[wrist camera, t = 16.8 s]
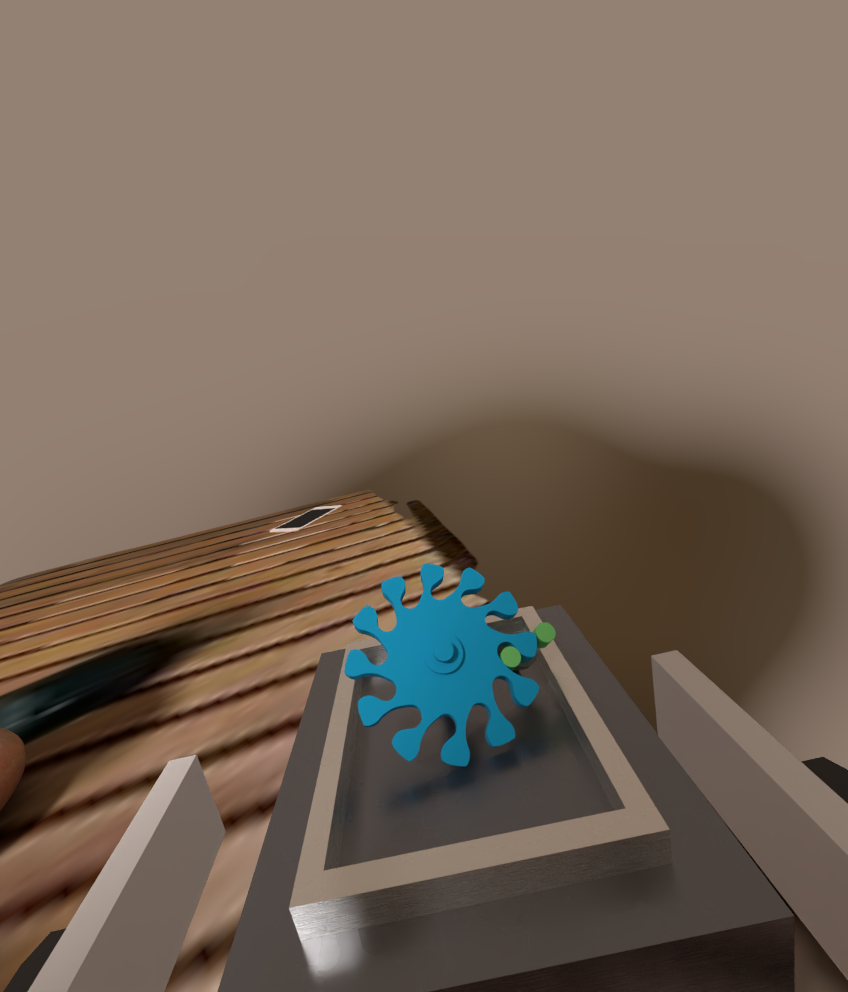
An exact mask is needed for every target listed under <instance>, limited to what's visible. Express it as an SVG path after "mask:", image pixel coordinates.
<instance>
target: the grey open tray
mask: <svg viewBox="0 0 848 992" xmlns="http://www.w3.org/2000/svg"><path fill="white" fill-rule="evenodd" d="M485 622H486V624H487V625H488V627H490V628H491V629H493V630H496V631H498V632H501V633H504V634H519V633H522V632H525V631H528V632H533V630H534V629H535V628H536V627H537V626H538V624H540V623H542V622H546V623H549V624H551V625H552V626H553V627H554V629H555V632H556V635H555V638H554V639H553V640H552V641H551V642H550V643H549V644H548V645H547V646H546V647H545V648H537V658H536V661H535V662H534V663H533V664H532V665H531V666H530V667H529V668H527V669H524V670H515V671H512V672H514V673H516V674H517V675H520V676H522V677H526V678H530V679H532V680H534V681H535V682H536V683H537V684H538V686H539V691H538V693H537V695H536V697H535V699H534V700H533V701H532V703H531V704H529V705H528V706H527V707H525V708H524V709H523V708H520V707H518V706H517V705H516V704H515V703H514V702H513V700H512V697H511V693H510V688H509V685H508V683H507V682H506V681H504V680H503V679H495V680H493V683H492V689H493V694H494V699H495V702H496V705H497V707H498V709H499V711H500V712H501V714H502V715H503V716H504V717H505V719H507V720H508V721H509V722H510V723H511V724H512V726H513V728H514V730H515V738H514V739H512V740H511V741H509V742H507V743H505V744H503V745H501V746H497V747H490V746H489V745H488V743H487V741H486V738H485V730H486V726H487V723H488V719H489V715H488V712H487V710H486V709H485V708H484V707H483V706H480V705H475V706H473V707H471V709H470V712H469V715H468V718H467V722H466V730H465V732H466V741H467V745H468V748H469V751H470V759H469V763H468V764H467V766H465V767H460V766H451V765H448V764H445V763H444V762H442V761H441V755H440V754H441V749H442V747H443V745H444V744H445V743H446V742H447V741H448V740H449V739H450V738H451V737H452V736H453V735H454V734H455V731H456V725H455V722H454V721H453V719H452V718H450V717H448V716H442V717H440V718H438V719H437V720H436V721H435V722H434V723H432V724H431V725H430V726H429V727H428V729H427V730H426V732H425V733H424V735H423V737H422V740H421V743H420V748H419V752H418V755H417V756H416V758H415V759H413V760H412V761H410V762H408V761H407V760H406V759H404V758H403V757H402V756H401V755H400V754H398V752H397V751H396V750H395V749H394V747H393V745H392V740H393V737H394V736H395V734H396V733H398V732H399V731H401V730H404V729H412V728H415V727H417V726H418V725H419V724H420V722H421V720H422V717H421V713H420V712H419V710H418V709H416V708H414V707H406V708H400V709H396V710H394V711H391V712H390V713H388V714H387V715H386V716H384V717H383V718H382V719H381V720H380V722H379V723H378V724H377V725H375V726H373V727H365V726H364V725H363V722H362V720H361V717H360V714H359V710H358V701H359V700H360V699H361V698H362V697H364V696H368V695H369V696H374V697H376V698H378V699H380V700H383V701H389V700H391V699H392V698H393V697H394V696H395V694H396V687H395V685H394V684H393V683H391V682H389V681H387V680H385V679H383V678H380V677H375V676H369V677H363V678H360V679H356V680H354V679H350V678H348V677H347V676H346V674H345V673H344V670H345V663H346V659H347V656H348V654H349V652H350V650H354V649H357V650H360V651H362V652H363V653H364V654H365V655H366V657H367V658H368V660H369V661H370V662H371V663H372V664H374V665H381V664H383V663H384V662H385V661H386V660H387V657H388V654H387V652H386V650H385V649H384V647H383V646H382V645H381V643H380V642H379V641H377V640H376V639H375V638H374V639H369V640H364V641H359V642H354V643H349V644H347V645H346V649H342V650H337V651H332V652H327V653H322V654H321V657H320V660H319V664H318V667H317V670H316V673H315V677H314V680H313V683H312V686H311V690H310V693H309V696H308V700H307V703H306V706H305V709H304V713H303V716H302V719H301V722H300V726H299V729H298V732H297V735H296V739H295V742H294V745H293V748H292V752H291V755H290V758H289V761H288V765H287V768H286V771H285V774H284V778H283V781H282V784H281V787H280V791H279V794H278V797H277V800H276V804H275V807H274V810H273V813H272V817H271V820H270V823H269V826H268V830H267V833H266V836H265V839H264V843H263V846H262V849H261V852H260V856H259V859H258V862H257V865H256V869H255V872H254V875H253V878H252V882H251V885H250V888H249V891H248V895H247V898H246V901H245V904H244V908H243V911H242V914H241V918H240V921H239V924H238V927H237V931H236V934H235V937H234V940H233V944H232V947H231V950H230V953H229V957H228V960H227V963H226V966H225V970H224V973H223V976H222V979H221V983H220V986H219V989H218V992H794V915H793V914H792V912H791V911H790V910H789V908H788V907H787V906H786V904H785V903H784V902H783V900H782V899H781V898H780V896H779V895H778V894H777V892H776V891H775V890H774V888H773V887H772V886H771V884H770V883H769V882H768V880H767V879H766V878H765V876H764V875H763V874H762V872H761V871H760V870H759V868H758V867H757V866H756V864H755V863H754V862H753V860H752V859H751V858H750V856H749V855H748V854H747V852H746V851H745V850H744V848H743V847H742V846H741V844H740V843H739V842H738V840H737V839H736V838H735V836H734V835H733V834H732V832H731V831H730V830H729V828H728V827H727V826H726V824H725V823H724V822H723V820H722V819H721V818H720V816H719V815H718V814H717V812H716V811H715V810H714V808H713V807H712V806H711V804H710V803H709V802H708V800H707V799H706V798H705V796H704V795H703V794H702V792H701V791H700V790H699V788H698V787H697V786H696V784H695V783H694V782H693V780H692V779H691V778H690V776H689V775H688V774H687V773H686V771H685V770H684V769H683V767H682V766H681V765H680V764H679V762H678V761H677V760H676V758H675V757H674V756H673V755H672V753H671V752H670V751H669V749H668V748H667V747H666V746H665V744H664V743H663V742H662V740H661V739H660V738H659V736H658V734H657V732H656V731H655V730H654V728H653V727H652V726H651V724H650V723H649V722H648V720H647V719H646V718H645V717H644V715H643V714H642V712H641V711H640V710H639V708H638V707H637V706H636V705H635V703H634V702H633V701H632V699H631V698H630V696H629V695H628V694H627V693H626V691H625V690H624V689H623V687H622V686H621V684H620V683H619V682H618V680H617V679H616V678H615V676H614V675H613V674H612V673H611V671H610V670H609V669H608V667H607V666H606V665H605V663H604V662H603V661H602V659H601V658H600V657H599V655H598V654H597V653H596V651H595V650H594V649H593V647H592V646H591V645H590V643H589V642H588V641H587V639H586V638H585V637H584V635H583V634H582V633H581V631H580V630H579V629H578V628H577V626H576V625H575V623H574V622H573V621H572V619H571V618H570V617H569V615H568V614H567V613H566V611H565V610H564V609H563V607H562V606H561V605H557V606H552V607H547V608H542V609H537V610H535V609H534V608H533V606H530V607H525V608H520V609H518V612H517V613H516V615H515V616H514V617H513V618H512V619H509V620H504V619H501V618H499V617H497V616H494V615H490V616H487V617H486V618H485Z"/></svg>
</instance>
